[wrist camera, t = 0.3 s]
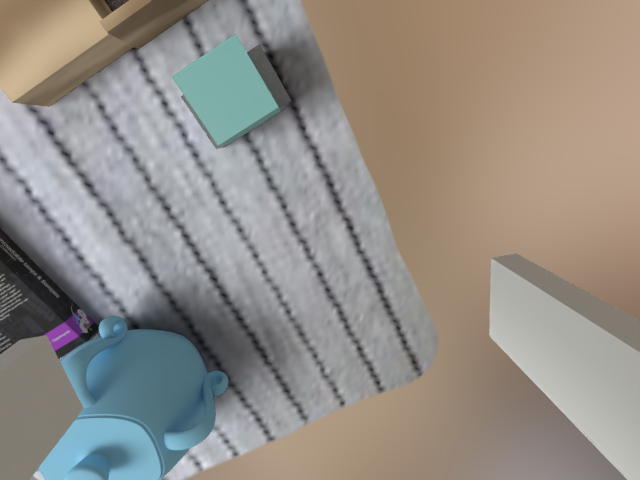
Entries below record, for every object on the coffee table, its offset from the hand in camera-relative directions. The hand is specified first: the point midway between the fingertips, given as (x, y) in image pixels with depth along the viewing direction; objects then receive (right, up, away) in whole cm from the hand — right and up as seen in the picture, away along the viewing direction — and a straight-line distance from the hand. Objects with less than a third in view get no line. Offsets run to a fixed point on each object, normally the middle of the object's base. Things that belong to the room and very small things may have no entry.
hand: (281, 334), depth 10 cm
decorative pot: (-19, -13, +30) cm, 38 cm away
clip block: (-6, +15, +18) cm, 24 cm away
